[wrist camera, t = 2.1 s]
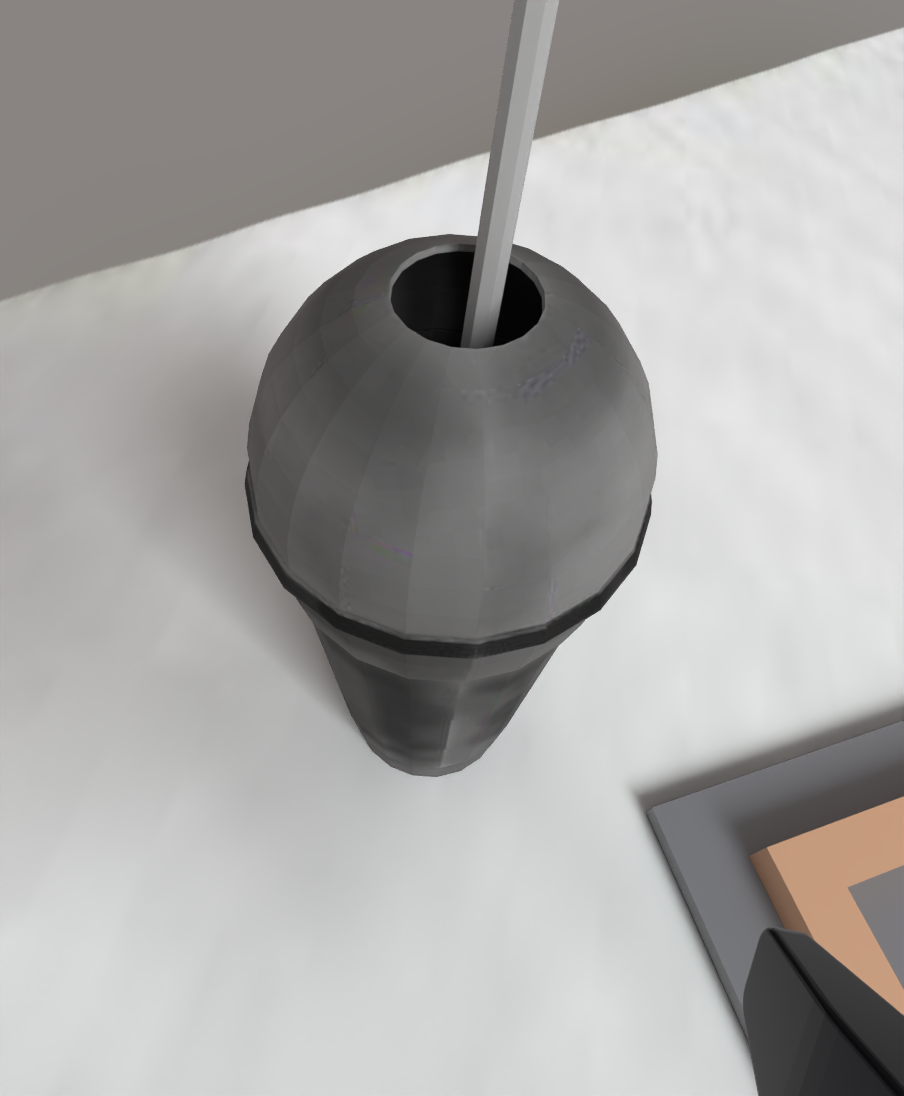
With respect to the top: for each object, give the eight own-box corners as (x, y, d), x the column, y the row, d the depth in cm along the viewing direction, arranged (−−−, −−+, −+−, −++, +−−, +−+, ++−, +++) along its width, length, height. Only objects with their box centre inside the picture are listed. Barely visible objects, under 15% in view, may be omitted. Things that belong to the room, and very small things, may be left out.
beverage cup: (260, 743, 22) (-160, -124, 6) (392, 563, 26) (379, -299, 9) (476, 877, 21) (803, 227, 4) (585, 666, 24) (1003, -150, 8)
